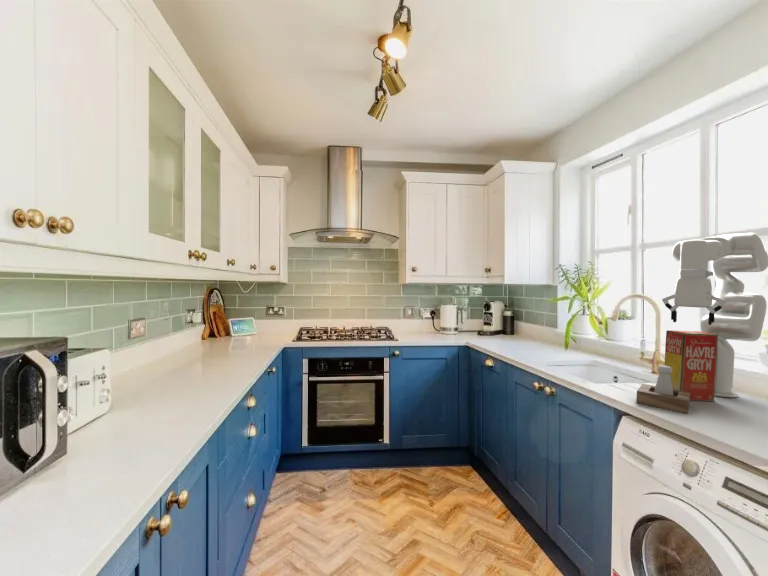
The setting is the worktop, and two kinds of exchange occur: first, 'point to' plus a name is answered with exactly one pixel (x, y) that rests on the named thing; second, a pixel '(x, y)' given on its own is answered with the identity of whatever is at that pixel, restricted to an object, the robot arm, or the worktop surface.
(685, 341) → the food packaging
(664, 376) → the salt shaker
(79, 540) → the worktop surface
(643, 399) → the socket block
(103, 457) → the worktop surface
